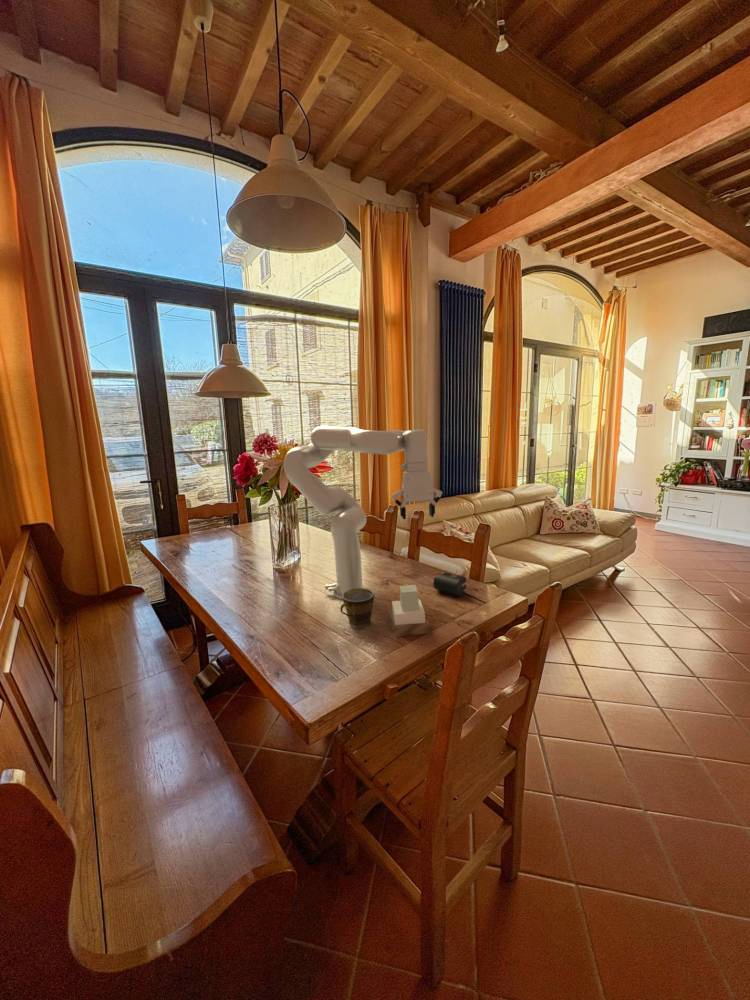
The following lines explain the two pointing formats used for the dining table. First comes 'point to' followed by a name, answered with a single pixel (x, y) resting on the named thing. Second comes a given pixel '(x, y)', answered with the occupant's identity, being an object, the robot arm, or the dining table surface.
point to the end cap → (450, 584)
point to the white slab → (407, 614)
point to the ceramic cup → (358, 606)
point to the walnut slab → (409, 627)
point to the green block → (409, 597)
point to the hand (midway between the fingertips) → (417, 517)
